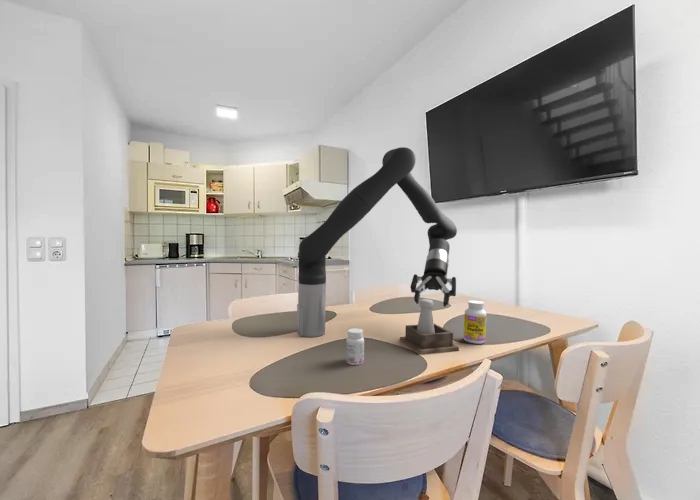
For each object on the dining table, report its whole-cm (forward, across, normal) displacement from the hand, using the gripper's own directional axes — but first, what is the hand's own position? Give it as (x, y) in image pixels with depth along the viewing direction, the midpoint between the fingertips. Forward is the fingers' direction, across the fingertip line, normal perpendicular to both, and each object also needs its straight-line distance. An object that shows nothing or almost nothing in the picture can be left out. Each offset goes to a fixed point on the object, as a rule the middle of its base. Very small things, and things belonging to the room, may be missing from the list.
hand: (430, 303), depth 100 cm
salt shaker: (+9, -1, +7) cm, 12 cm away
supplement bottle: (+3, +13, +15) cm, 20 cm away
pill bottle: (+26, -16, -8) cm, 32 cm away
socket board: (+10, 0, +7) cm, 13 cm away
